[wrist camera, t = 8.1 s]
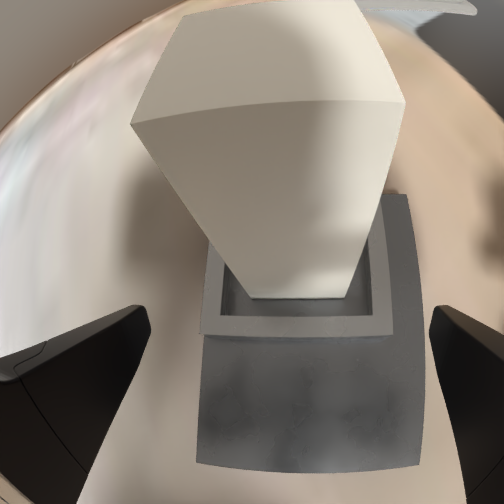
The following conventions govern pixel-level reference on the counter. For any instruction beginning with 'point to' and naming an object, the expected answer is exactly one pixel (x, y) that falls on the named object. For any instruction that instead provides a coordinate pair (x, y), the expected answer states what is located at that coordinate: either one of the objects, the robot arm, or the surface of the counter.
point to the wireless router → (418, 5)
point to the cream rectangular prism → (276, 138)
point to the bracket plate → (318, 365)
